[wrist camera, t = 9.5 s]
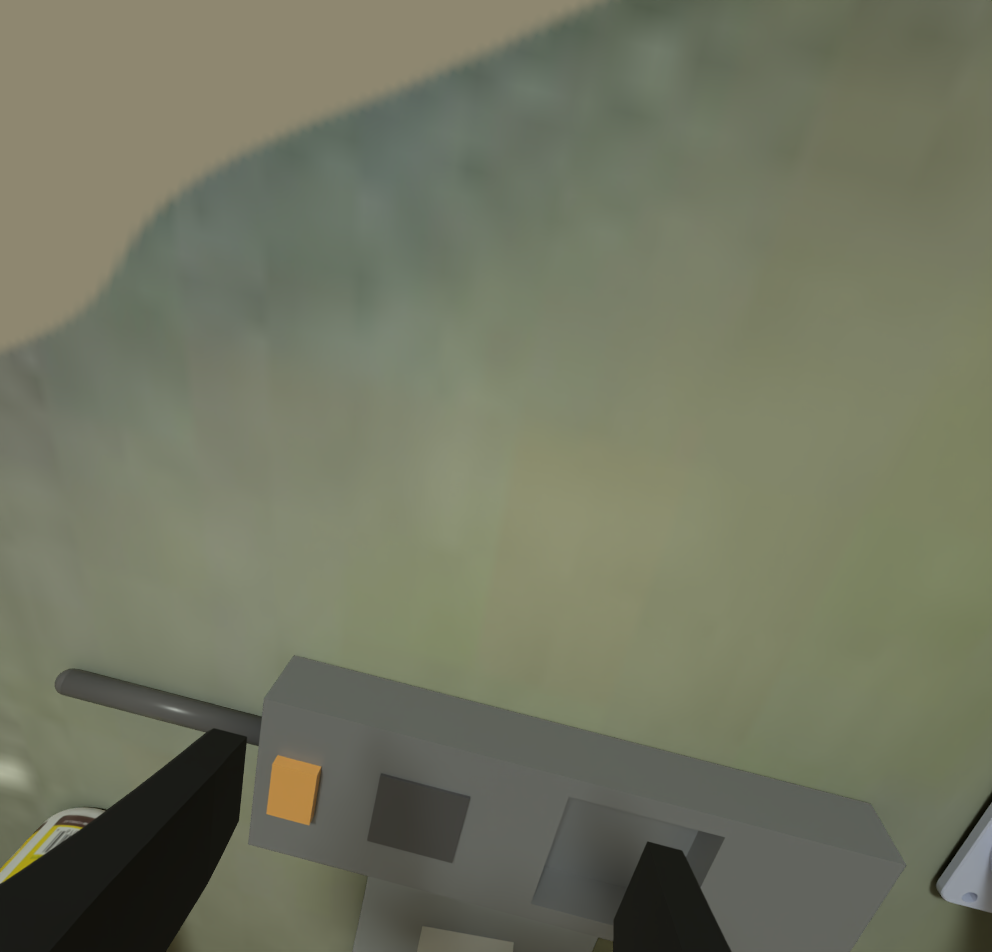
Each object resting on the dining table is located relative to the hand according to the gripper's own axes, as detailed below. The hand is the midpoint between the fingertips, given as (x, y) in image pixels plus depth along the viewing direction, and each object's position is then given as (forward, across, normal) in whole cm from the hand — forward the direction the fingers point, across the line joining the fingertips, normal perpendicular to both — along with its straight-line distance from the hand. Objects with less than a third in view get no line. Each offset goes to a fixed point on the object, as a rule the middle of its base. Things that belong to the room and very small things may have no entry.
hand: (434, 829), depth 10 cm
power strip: (+10, 0, +10) cm, 14 cm away
